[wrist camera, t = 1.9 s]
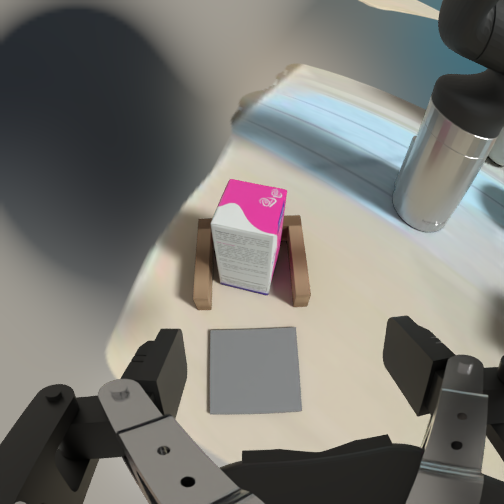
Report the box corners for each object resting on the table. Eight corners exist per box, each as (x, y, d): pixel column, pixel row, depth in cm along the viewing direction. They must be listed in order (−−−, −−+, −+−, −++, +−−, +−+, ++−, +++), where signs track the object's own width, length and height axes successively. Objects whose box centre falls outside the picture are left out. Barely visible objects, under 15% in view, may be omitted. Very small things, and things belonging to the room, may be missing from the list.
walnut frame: (202, 233, 41) (198, 218, 38) (297, 230, 41) (300, 215, 38) (198, 310, 35) (193, 298, 33) (306, 306, 35) (310, 294, 33)
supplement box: (270, 296, 36) (274, 238, 26) (219, 284, 37) (205, 223, 27) (281, 253, 39) (288, 187, 29) (233, 243, 40) (226, 176, 30)
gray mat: (211, 331, 34) (210, 330, 34) (295, 328, 34) (295, 327, 34) (210, 414, 29) (209, 414, 29) (301, 411, 29) (301, 410, 29)
